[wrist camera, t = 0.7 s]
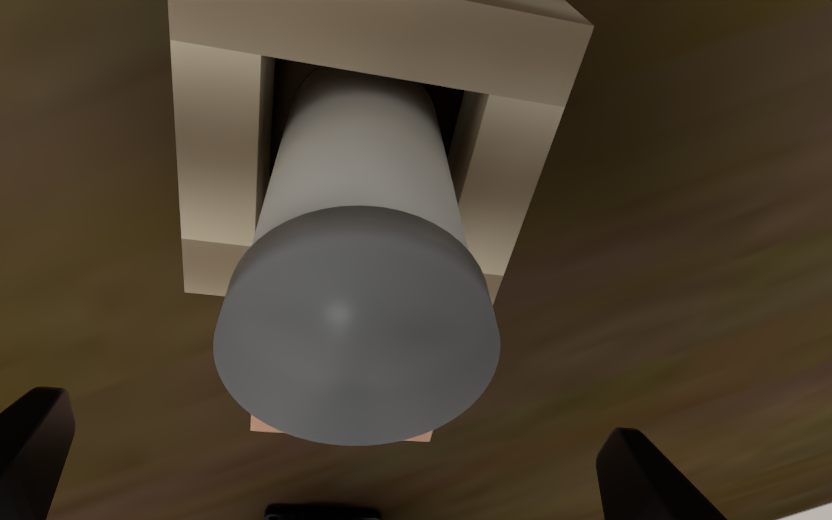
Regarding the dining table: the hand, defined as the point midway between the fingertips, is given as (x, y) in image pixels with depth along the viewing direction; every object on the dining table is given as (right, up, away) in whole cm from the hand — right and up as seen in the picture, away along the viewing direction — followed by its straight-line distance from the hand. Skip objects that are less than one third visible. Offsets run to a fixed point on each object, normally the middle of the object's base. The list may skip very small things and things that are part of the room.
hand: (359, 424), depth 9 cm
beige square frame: (-1, +7, +9) cm, 11 cm away
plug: (-1, +7, +9) cm, 11 cm away
